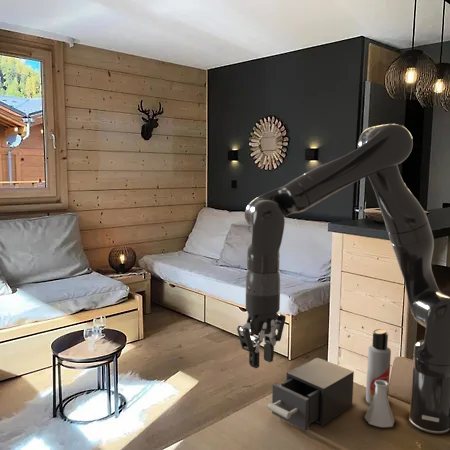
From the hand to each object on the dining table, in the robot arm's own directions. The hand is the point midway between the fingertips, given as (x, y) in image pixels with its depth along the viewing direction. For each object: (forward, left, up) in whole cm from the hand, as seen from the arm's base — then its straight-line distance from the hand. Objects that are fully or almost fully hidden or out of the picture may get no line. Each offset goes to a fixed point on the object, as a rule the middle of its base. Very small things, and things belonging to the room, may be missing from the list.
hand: (261, 363), depth 101 cm
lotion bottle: (-32, -19, -19) cm, 42 cm away
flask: (-30, -10, -19) cm, 37 cm away
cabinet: (-16, -16, -19) cm, 30 cm away
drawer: (-10, -10, -18) cm, 23 cm away
